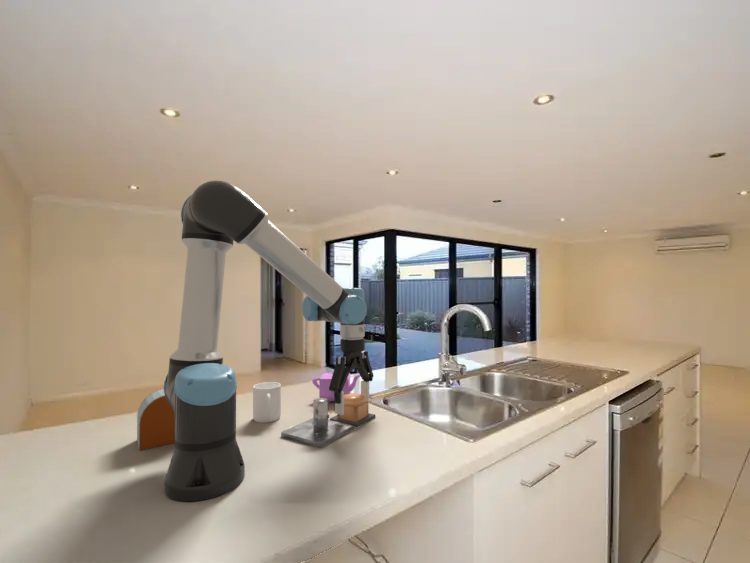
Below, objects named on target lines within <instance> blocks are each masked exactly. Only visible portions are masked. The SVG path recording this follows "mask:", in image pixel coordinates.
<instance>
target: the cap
mask: <svg viewBox="0 0 750 563" xmlns="http://www.w3.org/2000/svg"><path fill="white" fill-rule="evenodd" d="M368 413H369V402H365V400H364V395H362V394H361V393H350V394H346V395H344V415H340V414H337V415H338V418H340V419H345V420H349V421H354V422H357V421H359V420H361V419H362V418H364V417H366V416H368Z"/></svg>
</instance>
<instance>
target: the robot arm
mask: <svg viewBox="0 0 750 563" xmlns="http://www.w3.org/2000/svg"><path fill="white" fill-rule="evenodd" d="M180 217H181V222H182V230H181V240H180V241H181V242H182V244H183V245H184V246H185V247H186V249H187V253H186V263H185V273H184V283H183V294H182V296H183V297H182V304H181V313H180V314H181V315H180V324H179V334H178V344H177V346H178V347H177V349H176V350H175V351H174V352H173V353H171V354H170V356H169V363H168V369H167V370H168V372H167V375H166V376H165V380H164V381H163V382H164V383H163V388H164V394H165V397H166V399H167V401H168V402H169V404H170V405H171V407H172V409H173V410H174V412H175V443H174V449H173V452H172V453H173V454H172V456H171V459H170V462H169V465H168V469H167V473H166V475H165V477H164V493H165V496H167V497H168V498H169V499H172V500H174V501H179V502H195V501H196V502H197V501H198V502H199V501H203V500H209V499H212V498H213V499H214V498H215V497H218V496H221V495H223V494H226V493H228V492H230V491H232V490H233V489H235V488H236V487H237V486H239V485H240V484H241V483H242V481H243V480H244V479H245V474H246V473H245V472H246V471H245V465H246V464H245V461H244V459H243V455H242V451H241V450H240V448H239V444H238V441H237V388H238V381H237V378H236V371H235V370H234V369H233V367H231V366H229V365H226V364H223V362H224V356H223V354H222V353H221V351H219V349H218V346H219V345H218V342H219V332H220V324H221V323H220V322H221V321H220V320H221V308H222V302H223V301H222V300H223V289H224V278H225V267H226V266H225V265H226V256H227V255H226V254H227V252H228V251H230V250H231V249H232V248H233V247H234V242H235V243H237V245H243V244H244V245H246V246H247V247H248V248H250V249H251V250H252V251H253V252H254V253H255V254H257V255H258V256H259V257H260V258H261V259H262V260H264V261H265V262H266V263H268V264H269V265H270V266H271V267H272V268H273V269H275V270H276V271H277V272H278V273H279V274H281V275H282V276H283V277H284V278H286V280H288V281H289V282H290V283H292V284H293V285H294V286H295V287H296V288H297V289H298V290H300V291H301V292H302V293H304V294H305V295H306V296H305V297H304V298H303V301H302V304H301V306H302V307H301V311H302V312H301V313H302V316H303V318H304V319H305V320H306V321H308V322H323V321H324V322H330V323H337V324H339V325H340V326H339V336H340V338H341V339H339V340H340V342H339V344H340V347H339V348H340V351H341V352H342V354H343V355H342V356H336V358H335V365H334V369H333V371H332V372H333V376H332V379H331V383H330V387H329V390H330V391H334V401H333V402H334V414H336V415H338V414H340V415H344V392H342V390H343V387H344V385H345V382H346V380H347V378H348V375H349V373H350V374H351V373H352V372H353V370H355V369H356V371H357V373H358V375H360V378H361V379H362V380H361V381H360V394H362V395H364V400H365V402H368V403H370V382H372V381H373V378H374V373H373V369H372V365H371V362H370V359H369V351H367V350H366V349H365V348H366V344H365V342H366V341H365V340H366V339H365V338H364V337H365V336H366V335H365V334H366V332H365V323H366V322H365V317H367V312H368V308H367V307H368V306H367V303H366V299H365V298H366V297H365V290H364V289H363V288H362V287H343V286H341V284H339V283H338V282H337V281H336V280H335V279H333V277H332V276H330V275H329V274H328V273H327V272H326V270H324V269H323V268H322V267H320V266H319V264H317V263H316V262H315V261H314V260H313V259H311V258H310V256H309V255H307V254H306V253H305V251H303V250H302V249H301V248H300V247H299V246H298V245H297V244H295V243H294V242H293V241H292V240H291V239H289V237H288V236H286V235H285V234H284V233H283V232H282V231H281V230H280V228H278V227H277V226H276V225H274V224H273V223H272V222H271V221H270V220H269V219H268V218H269V217H268V212H266V210H265V209H264V208H262V207H261V206H260V205H259V204H258V203H257V202H256V201H255V200H254V199H253V198H251V197H250V196H249V195H248V194H247V193H245V192H244V191H242V190H241V188H239V187H237V186H236V185H234V184H232V183H230V182H227V181H224V180H223V181H222V180H209V181H207V182H204V183H202V184H200V185H199V186H198V187H197V188H196V189H195V190H194V191H193V192H192V194H190V195H189V196H188V197H187V198H186V199H185V201H184V202H183V204H182V206H181V211H180ZM333 386H334V387H333Z"/></svg>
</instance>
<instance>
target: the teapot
mask: <svg viewBox="0 0 750 563" xmlns="http://www.w3.org/2000/svg"><path fill="white" fill-rule="evenodd" d="M333 372H334V371H331V372H330V373H329V372H328V373H327V372H326V373H324V372H323V373H322V374H321V377H315V378H313V379H312V384H313V385H314V386H315V387H316V388H317V389H318V390H319V393H318V394H319V396H318V397H319V398H325V399H328V404H330V403H331V402H334V391H330V390H329V387H330V383H331V379H332V376H333ZM359 378H361V376H360V374H357V375H355V376H354V377H353V379H352V382H351V372H350V373H349V375H348V378H347V380H346V382H345V385H344V387H343V390H342V392H344V395H346V394H351V392H352V391H353V390H354V389H355V387H356V384H357V381H358V379H359ZM318 381H319V383H318ZM333 387H334V386H333Z"/></svg>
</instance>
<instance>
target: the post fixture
mask: <svg viewBox="0 0 750 563" xmlns="http://www.w3.org/2000/svg"><path fill="white" fill-rule="evenodd" d="M312 403H313V406H312V408H313V409H312V414H313V415H312V416H313V417H312V418H309V419H308V420H305V421H303V422H301V423H299V424H296V425H294V426H292V427H289V428H287V429H285V430H282V431H281V432H280V437H282V438H285V439H287V440H292V441H295V442H298V443H302V444H306V445H310V446H313V447H317V448H319V449H322V448H324V447H326V446H327V445H329V444H330V443H331V444H332V442H334V441H336V440H338V439H339V438H341V437H343V436H345V435H347V434H348V433H350V432H352V431H354V427H353V425H349V424H344V423H340V422H336V421H331V420H330V413H329V403H328V399H325V398H315V399H313V402H312Z"/></svg>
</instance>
